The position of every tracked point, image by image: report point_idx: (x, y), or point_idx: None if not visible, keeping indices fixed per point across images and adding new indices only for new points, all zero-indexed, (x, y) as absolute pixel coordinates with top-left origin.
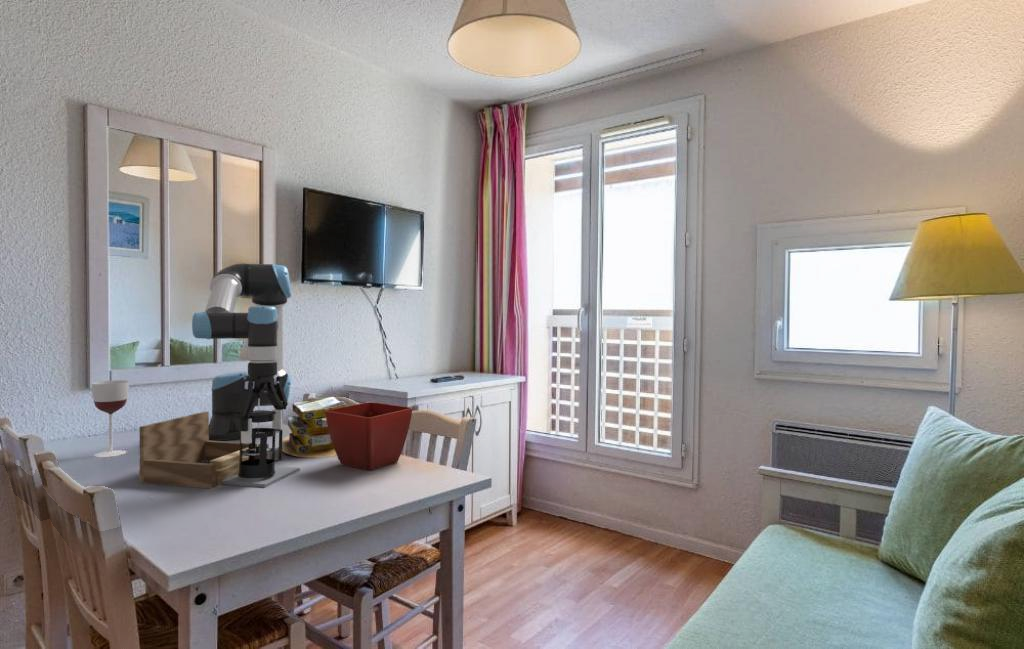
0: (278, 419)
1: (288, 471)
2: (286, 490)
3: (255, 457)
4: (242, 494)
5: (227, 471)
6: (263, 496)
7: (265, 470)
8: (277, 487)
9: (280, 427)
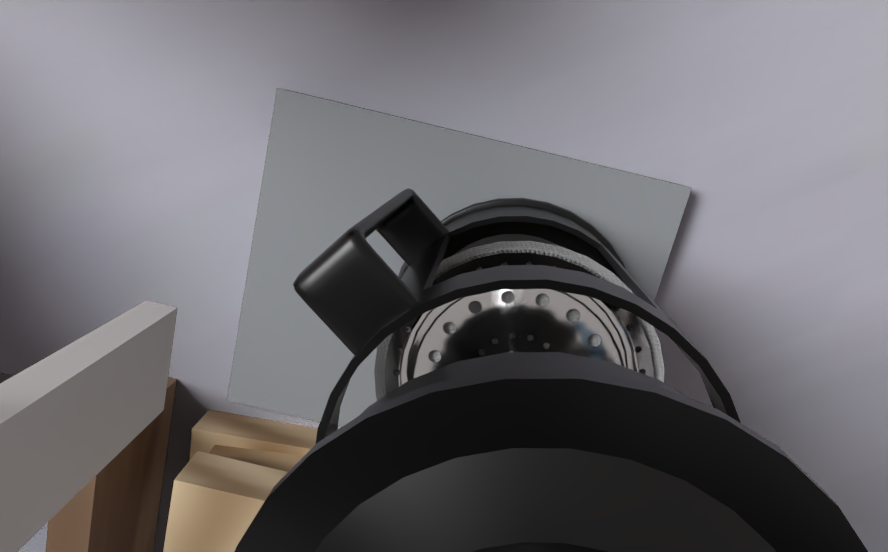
0: (77, 407)
1: (379, 139)
2: (768, 8)
3: (143, 474)
4: (819, 271)
5: None
6: (883, 119)
7: (597, 239)
8: (691, 100)
9: (145, 331)
